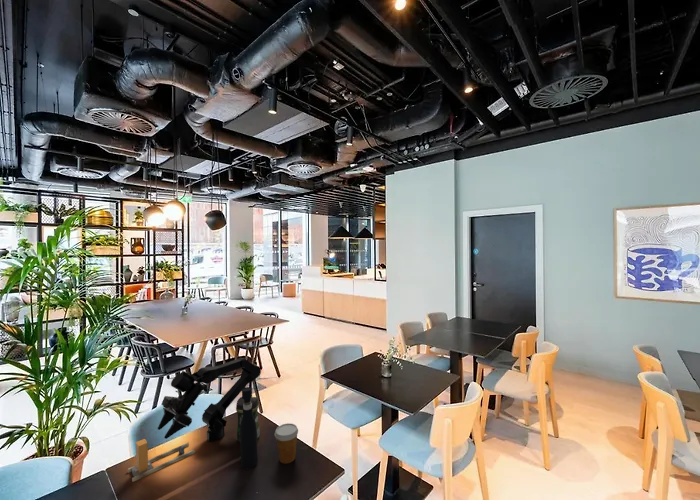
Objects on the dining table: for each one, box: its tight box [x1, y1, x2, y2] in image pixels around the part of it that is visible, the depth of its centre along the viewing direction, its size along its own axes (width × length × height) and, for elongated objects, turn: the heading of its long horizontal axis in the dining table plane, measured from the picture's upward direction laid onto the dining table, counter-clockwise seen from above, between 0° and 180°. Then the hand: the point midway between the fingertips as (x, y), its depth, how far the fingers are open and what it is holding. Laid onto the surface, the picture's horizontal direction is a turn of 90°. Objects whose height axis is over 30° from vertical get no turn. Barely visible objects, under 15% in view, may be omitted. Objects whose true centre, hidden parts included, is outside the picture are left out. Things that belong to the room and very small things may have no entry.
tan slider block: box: [131, 438, 154, 477], centre depth 121 cm, size 6×6×11 cm
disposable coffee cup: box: [274, 422, 299, 464], centre depth 127 cm, size 10×10×12 cm
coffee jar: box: [235, 396, 260, 443], centre depth 142 cm, size 10×8×19 cm
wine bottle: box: [239, 386, 259, 470], centre depth 125 cm, size 6×6×30 cm
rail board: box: [127, 441, 196, 482], centre depth 126 cm, size 22×8×2 cm, turn 136°
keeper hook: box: [176, 444, 185, 456], centre depth 131 cm, size 2×2×3 cm
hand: (161, 433), depth 126 cm, fingers open, 9 cm apart
